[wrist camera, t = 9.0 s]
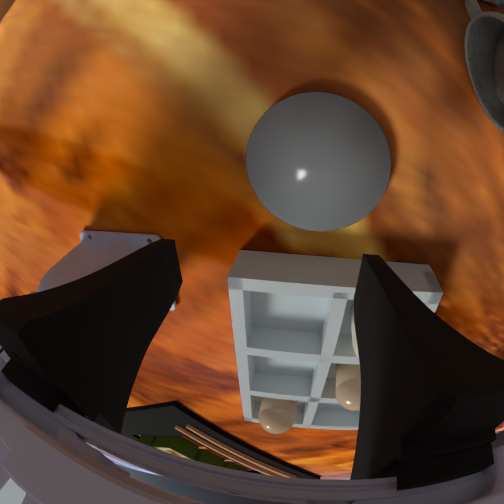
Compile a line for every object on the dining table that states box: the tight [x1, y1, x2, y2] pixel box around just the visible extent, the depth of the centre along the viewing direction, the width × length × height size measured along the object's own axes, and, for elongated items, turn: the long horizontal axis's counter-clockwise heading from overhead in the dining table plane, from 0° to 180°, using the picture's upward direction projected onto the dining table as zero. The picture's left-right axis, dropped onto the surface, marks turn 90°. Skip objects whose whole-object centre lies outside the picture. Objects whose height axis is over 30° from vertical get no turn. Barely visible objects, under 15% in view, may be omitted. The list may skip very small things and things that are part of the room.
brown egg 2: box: [336, 363, 361, 411], centre depth 22 cm, size 4×4×5 cm
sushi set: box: [121, 401, 320, 480], centre depth 54 cm, size 45×45×4 cm
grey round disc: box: [246, 92, 391, 231], centre depth 17 cm, size 9×9×1 cm
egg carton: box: [227, 250, 443, 430], centre depth 25 cm, size 15×22×4 cm
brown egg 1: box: [259, 397, 298, 434], centre depth 27 cm, size 4×4×5 cm
